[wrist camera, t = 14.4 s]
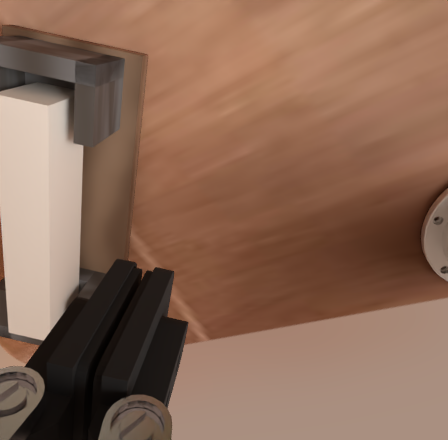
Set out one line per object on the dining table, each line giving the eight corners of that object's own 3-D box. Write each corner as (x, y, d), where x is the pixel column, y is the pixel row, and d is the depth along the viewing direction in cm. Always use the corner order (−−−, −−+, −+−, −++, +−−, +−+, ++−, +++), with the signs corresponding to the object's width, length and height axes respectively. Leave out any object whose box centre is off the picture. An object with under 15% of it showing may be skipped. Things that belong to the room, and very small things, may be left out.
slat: (37, 81, 33) (-9, 93, 28) (85, 92, 33) (48, 105, 28) (41, 293, 43) (8, 332, 38) (78, 302, 43) (50, 342, 38)
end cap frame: (148, 54, 34) (117, 62, 28) (122, 314, 48) (97, 362, 41) (12, 24, 35) (-51, 25, 28) (24, 292, 48) (-17, 335, 41)
